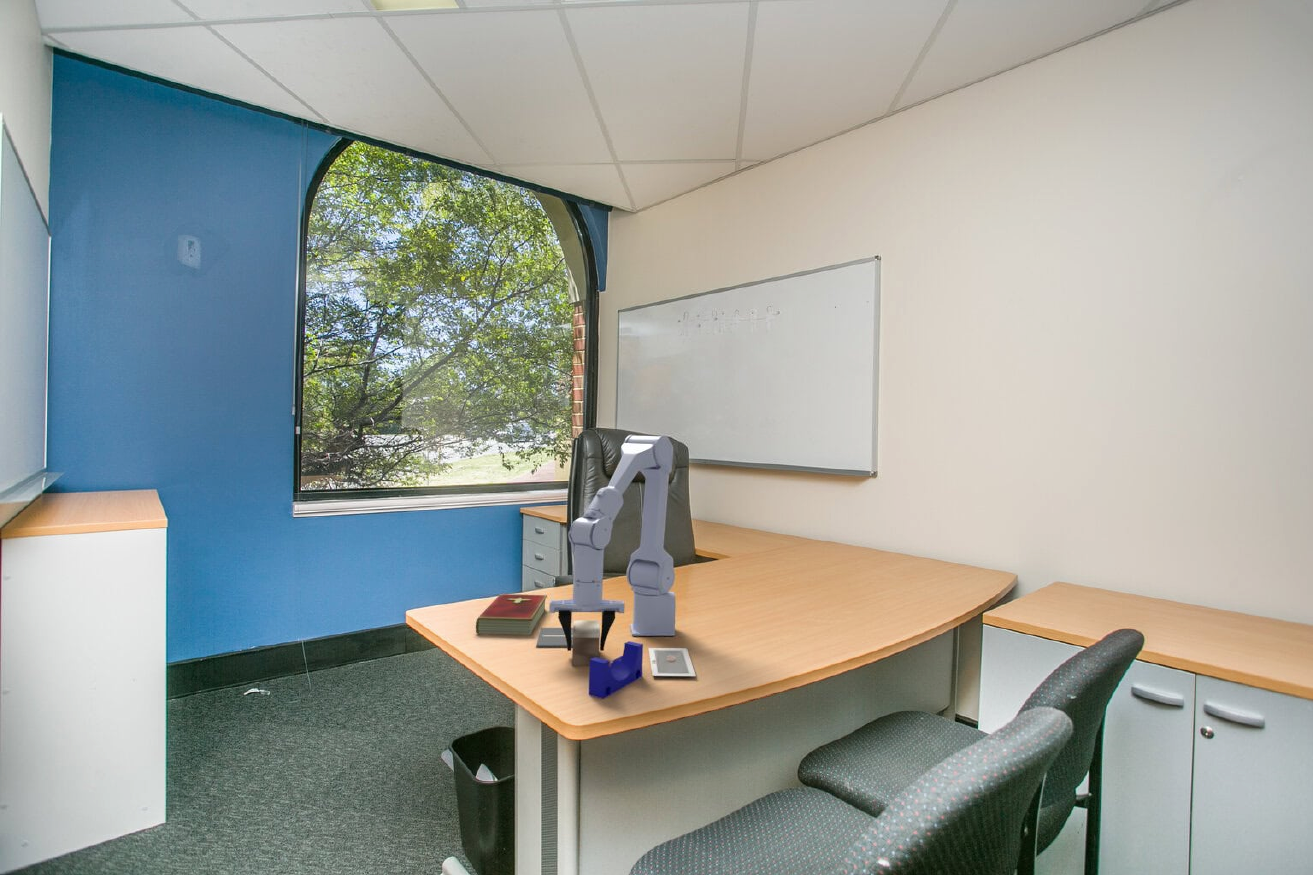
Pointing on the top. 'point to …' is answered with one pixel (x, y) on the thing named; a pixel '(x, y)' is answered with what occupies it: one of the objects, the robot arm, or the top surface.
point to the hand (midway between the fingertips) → (585, 649)
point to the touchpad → (670, 662)
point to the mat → (553, 637)
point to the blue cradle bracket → (615, 671)
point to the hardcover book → (512, 614)
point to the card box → (585, 642)
